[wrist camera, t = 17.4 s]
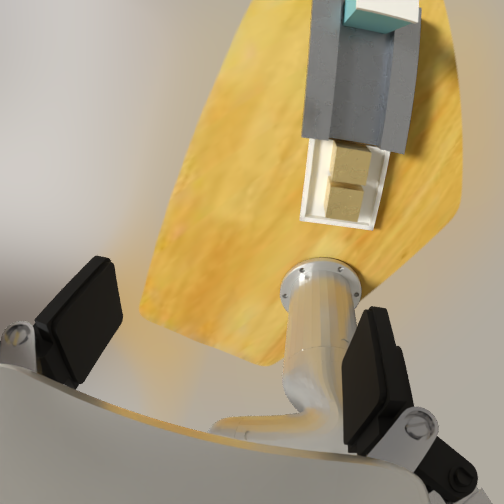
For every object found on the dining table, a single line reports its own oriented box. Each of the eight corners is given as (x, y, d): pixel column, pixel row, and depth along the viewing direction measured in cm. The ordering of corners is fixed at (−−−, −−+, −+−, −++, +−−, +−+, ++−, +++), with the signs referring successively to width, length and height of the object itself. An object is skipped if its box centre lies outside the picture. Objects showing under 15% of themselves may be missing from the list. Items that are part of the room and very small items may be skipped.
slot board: (395, 146, 35) (404, 154, 32) (301, 131, 37) (301, 137, 33) (410, 13, 26) (421, 8, 22) (312, -7, 27) (313, -15, 24)
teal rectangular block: (386, 35, 27) (418, 22, 18) (341, 25, 27) (357, 7, 18) (387, 11, 25) (419, -10, 16) (342, 1, 25) (358, -25, 16)
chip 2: (353, 208, 40) (357, 222, 37) (323, 204, 41) (325, 217, 37) (358, 180, 38) (364, 191, 35) (328, 175, 38) (330, 186, 35)
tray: (370, 225, 42) (372, 230, 40) (299, 215, 43) (299, 220, 41) (387, 148, 36) (390, 151, 34) (309, 135, 37) (309, 138, 35)
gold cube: (360, 175, 38) (365, 185, 34) (329, 170, 38) (331, 180, 35) (365, 144, 36) (371, 152, 32) (333, 139, 36) (336, 146, 33)
